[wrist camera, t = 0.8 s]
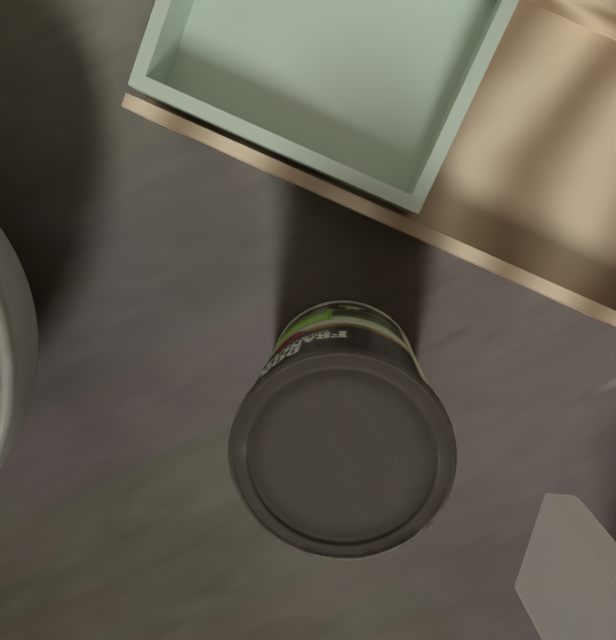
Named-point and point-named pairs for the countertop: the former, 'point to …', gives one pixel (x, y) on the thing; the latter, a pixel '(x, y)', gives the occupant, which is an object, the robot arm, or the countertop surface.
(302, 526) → the coffee can
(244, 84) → the mint green tray
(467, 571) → the countertop surface
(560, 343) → the countertop surface
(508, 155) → the bay
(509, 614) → the countertop surface
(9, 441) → the decorative bowl
